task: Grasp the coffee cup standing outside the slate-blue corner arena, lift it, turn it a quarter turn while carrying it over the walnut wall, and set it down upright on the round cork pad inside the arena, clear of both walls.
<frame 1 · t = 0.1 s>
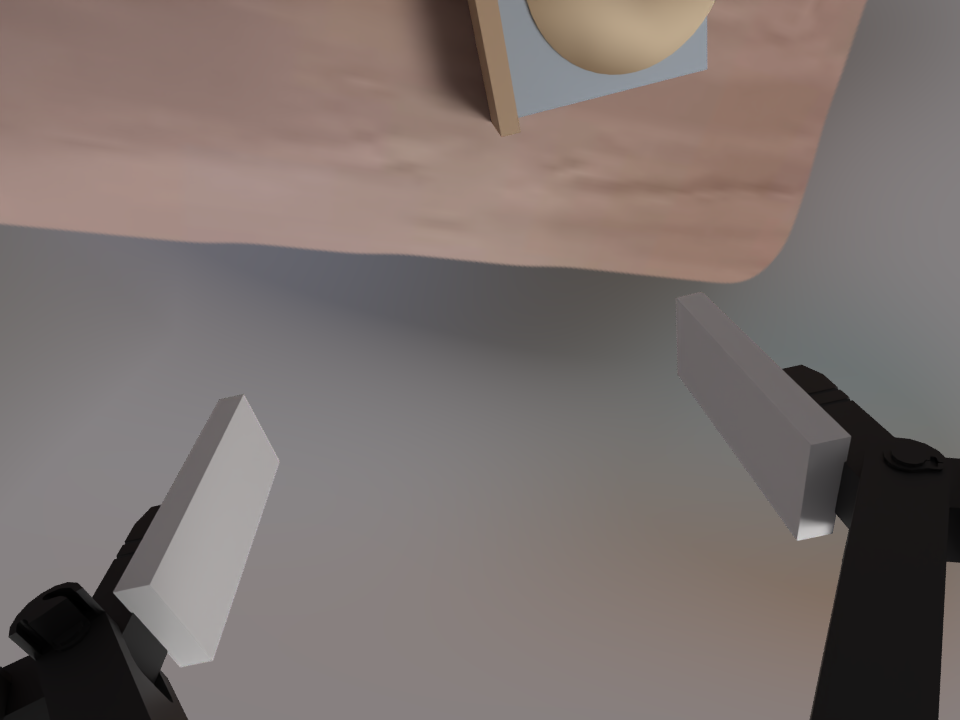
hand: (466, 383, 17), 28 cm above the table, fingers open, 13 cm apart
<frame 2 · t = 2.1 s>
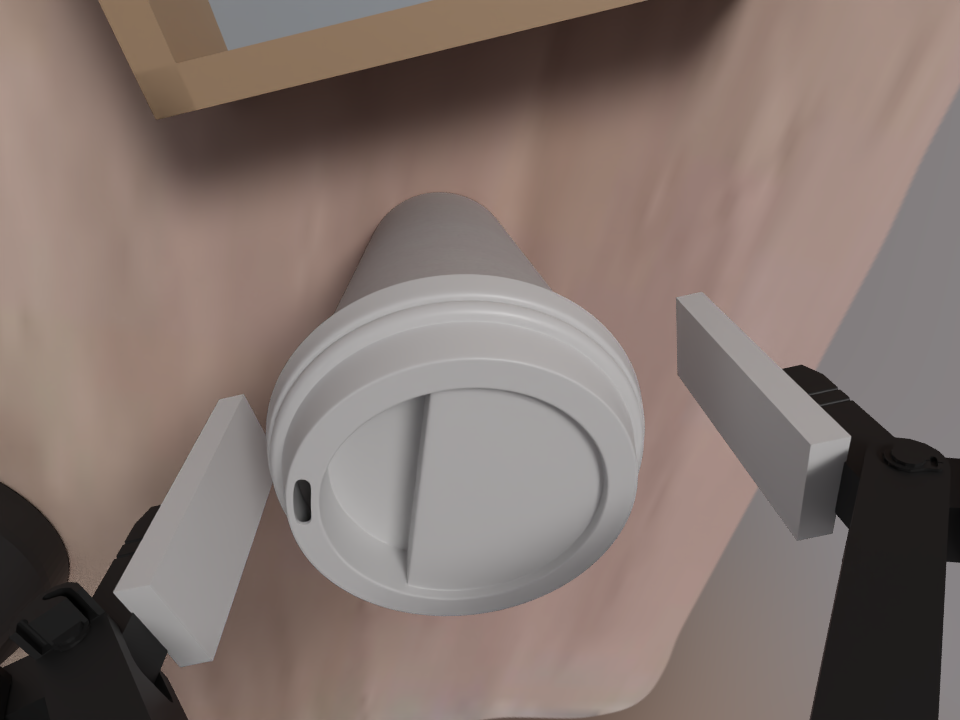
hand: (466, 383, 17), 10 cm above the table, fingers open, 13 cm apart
coffee cup: (440, 262, 25), on the table
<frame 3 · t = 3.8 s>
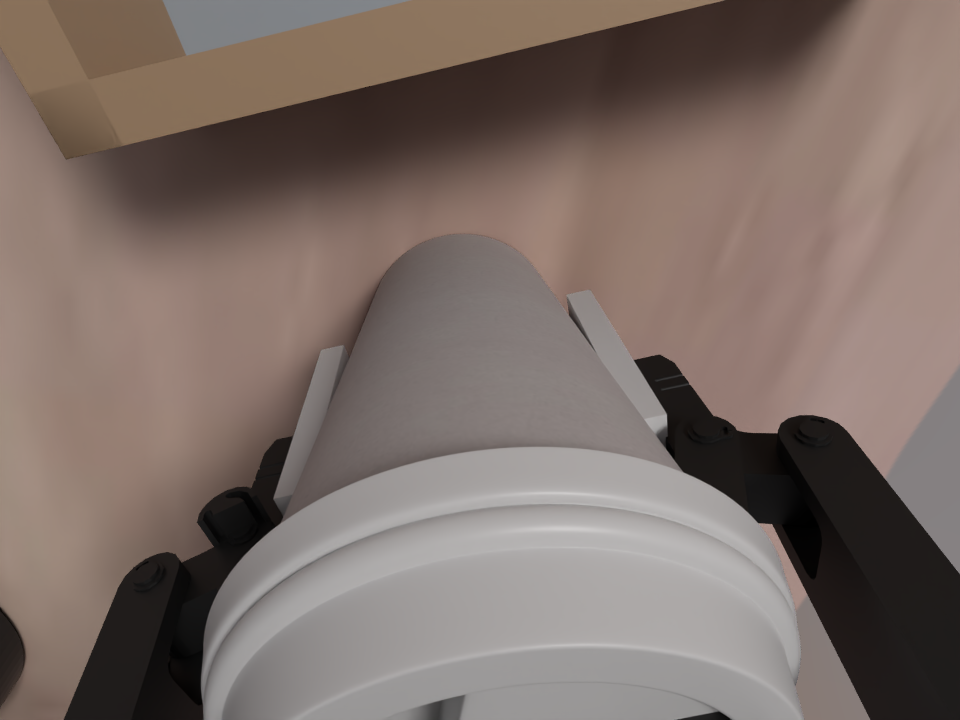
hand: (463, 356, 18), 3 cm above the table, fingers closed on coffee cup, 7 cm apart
coffee cup: (461, 316, 21), on the table, touching gripper
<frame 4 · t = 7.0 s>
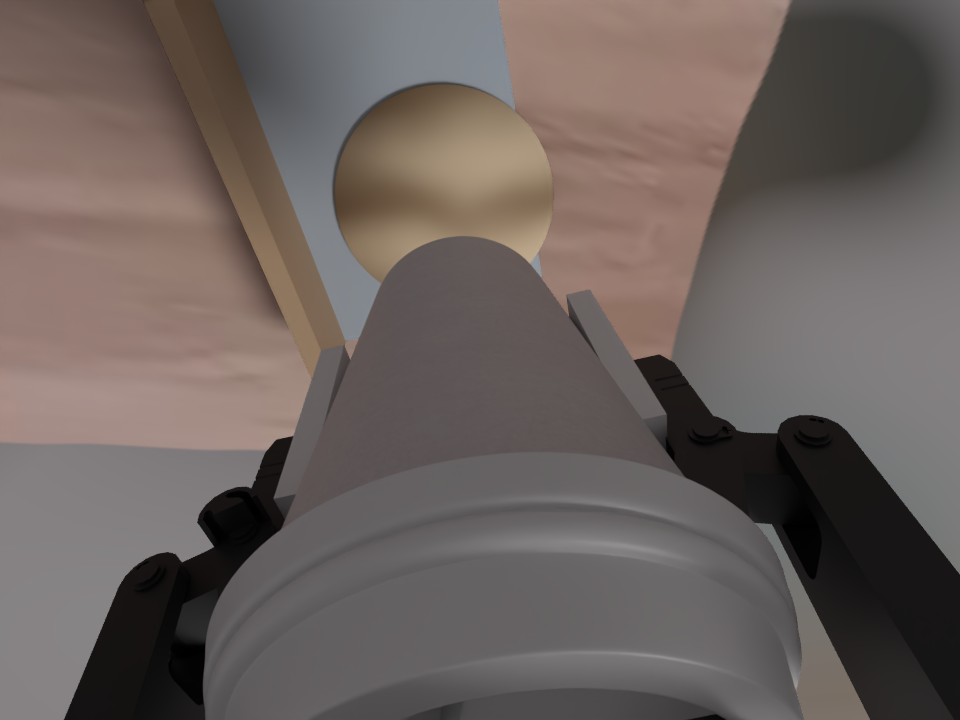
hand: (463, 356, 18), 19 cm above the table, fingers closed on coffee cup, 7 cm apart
coffee cup: (462, 318, 21), point 16 cm above the table, touching gripper
arena: (392, 160, 33), on the table
pad: (446, 204, 33), resting on arena
when the fingers open (4 cm above the table, at t = 10.3 s): coffee cup stays where it is, resting on pad.
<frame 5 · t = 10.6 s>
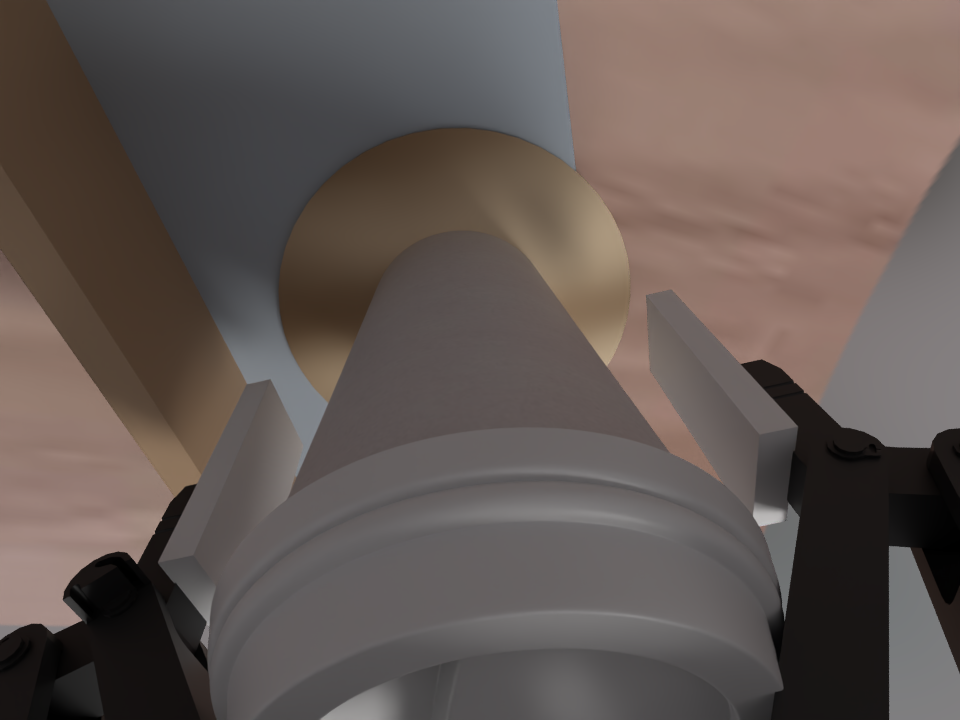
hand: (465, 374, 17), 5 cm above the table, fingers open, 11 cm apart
coffee cup: (461, 312, 21), point 1 cm above the table, touching pad
arena: (372, 245, 20), on the table
pad: (458, 311, 21), resting on arena
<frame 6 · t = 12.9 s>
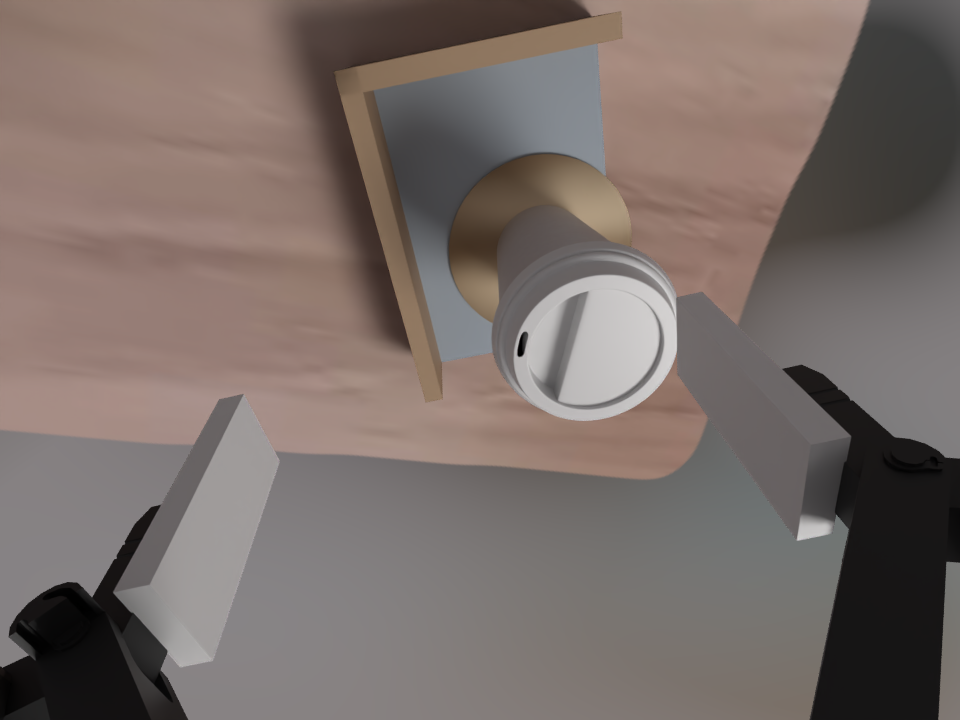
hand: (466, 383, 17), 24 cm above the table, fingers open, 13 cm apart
coffee cup: (541, 250, 39), point 1 cm above the table, touching pad
arena: (497, 212, 39), on the table
pad: (540, 249, 39), resting on arena
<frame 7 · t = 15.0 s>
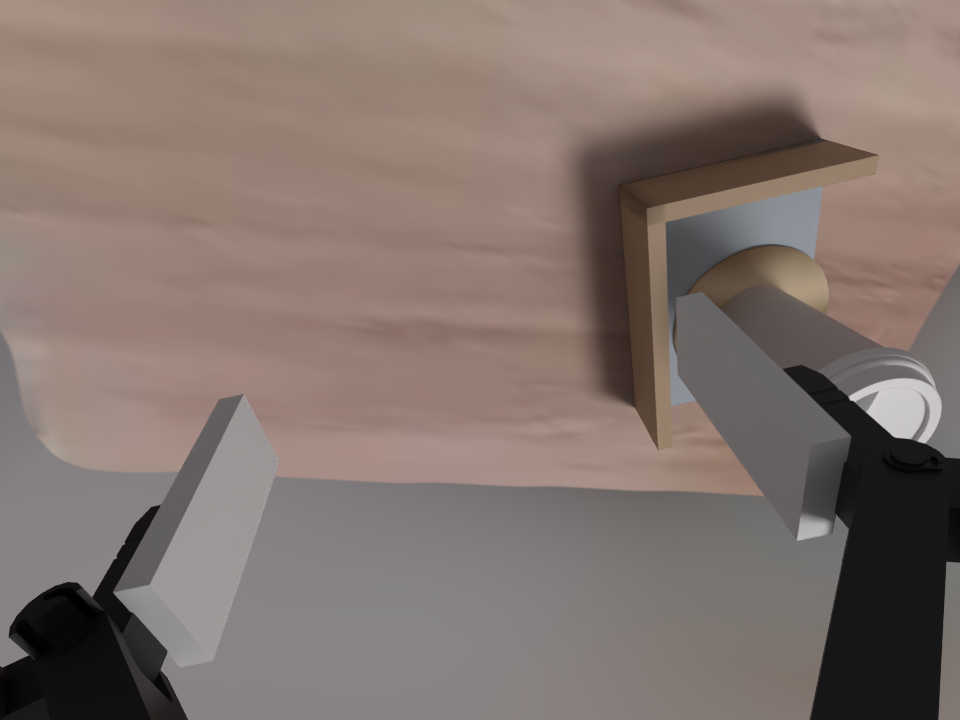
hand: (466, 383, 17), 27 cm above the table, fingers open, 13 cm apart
coffee cup: (751, 319, 47), point 1 cm above the table, touching pad
arena: (716, 290, 46), on the table
pad: (749, 319, 47), resting on arena
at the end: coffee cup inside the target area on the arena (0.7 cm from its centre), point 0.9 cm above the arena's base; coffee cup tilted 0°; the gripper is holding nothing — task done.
